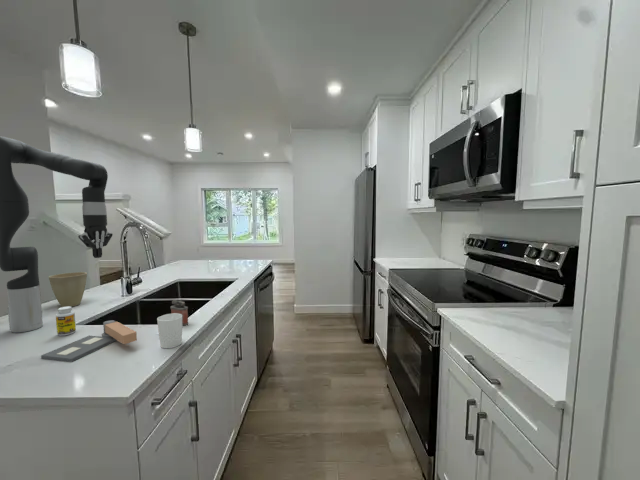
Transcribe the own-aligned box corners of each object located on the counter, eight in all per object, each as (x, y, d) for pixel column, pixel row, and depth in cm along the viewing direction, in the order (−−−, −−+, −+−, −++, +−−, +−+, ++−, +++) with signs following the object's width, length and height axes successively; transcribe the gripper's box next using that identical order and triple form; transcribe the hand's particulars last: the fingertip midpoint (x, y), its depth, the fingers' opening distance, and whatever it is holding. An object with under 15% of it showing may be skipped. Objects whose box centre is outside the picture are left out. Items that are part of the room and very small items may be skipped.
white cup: (164, 340, 108) (163, 313, 107) (186, 339, 108) (185, 312, 108) (154, 350, 100) (152, 321, 99) (178, 349, 101) (177, 320, 100)
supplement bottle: (55, 337, 111) (53, 311, 110) (58, 332, 115) (56, 307, 114) (75, 334, 114) (73, 308, 113) (76, 329, 118) (75, 304, 117)
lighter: (190, 323, 124) (189, 300, 123) (184, 326, 121) (183, 302, 120) (175, 321, 127) (174, 298, 126) (169, 324, 123) (168, 301, 123)
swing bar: (101, 332, 111) (101, 322, 111) (114, 329, 114) (113, 319, 114) (124, 347, 99) (123, 335, 98) (137, 343, 102) (136, 331, 101)
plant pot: (95, 300, 159) (93, 271, 157) (74, 309, 144) (72, 277, 142) (67, 301, 158) (64, 272, 156) (42, 310, 143) (39, 277, 142)
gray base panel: (41, 358, 94) (41, 354, 94) (102, 332, 115) (102, 329, 115) (71, 361, 92) (71, 358, 92) (128, 334, 113) (128, 331, 113)
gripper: (86, 213, 108) (89, 260, 110) (117, 214, 121) (120, 255, 123) (69, 214, 110) (73, 259, 111) (102, 214, 123) (105, 255, 124)
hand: (97, 257), depth 117 cm, fingers closed
